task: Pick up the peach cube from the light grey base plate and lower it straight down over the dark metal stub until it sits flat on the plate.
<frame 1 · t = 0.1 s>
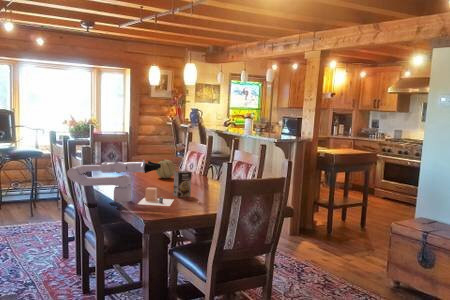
hand: (159, 166, 240), 22 cm above the table, tool horizontal, fingers open, 7 cm apart
coffee box: (181, 197, 264), on the table
metal stub: (161, 202, 241), resting on base plate
base plate: (156, 203, 243), on the table
cantaloupe: (165, 178, 329), on the table
peach cube: (151, 199, 248), point 1 cm above the table, touching base plate
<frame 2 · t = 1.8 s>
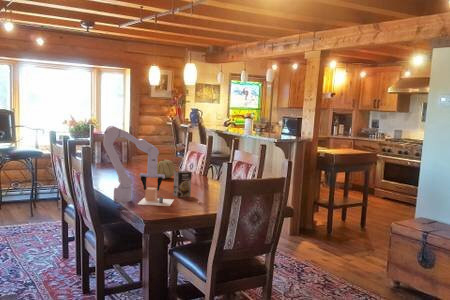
hand: (151, 190, 248), 7 cm above the table, tool pointing down, fingers open, 7 cm apart
nothing on the table moved.
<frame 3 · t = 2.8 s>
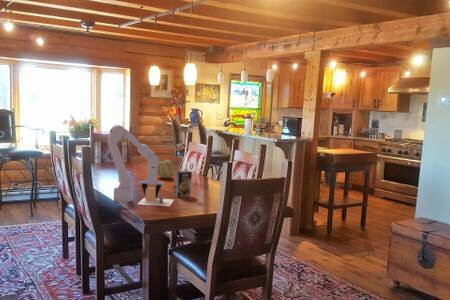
hand: (151, 197, 248), 2 cm above the table, tool pointing down, fingers closed on peach cube, 6 cm apart
peach cube: (151, 199, 248), point 1 cm above the table, touching base plate, gripper
everything else where it was.
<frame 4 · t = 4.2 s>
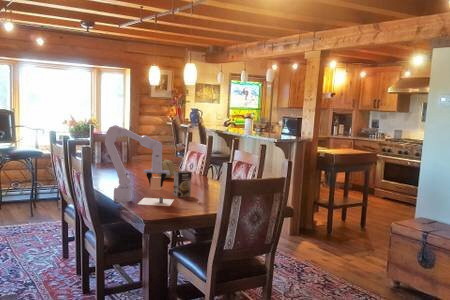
hand: (156, 186, 245), 10 cm above the table, tool pointing down, fingers closed on peach cube, 6 cm apart
peach cube: (156, 188, 245), point 8 cm above the table, touching gripper
everything else where it was.
when the fingers open (4 cm above the table, at t = 6.0 s): peach cube stays where it is, resting on base plate.
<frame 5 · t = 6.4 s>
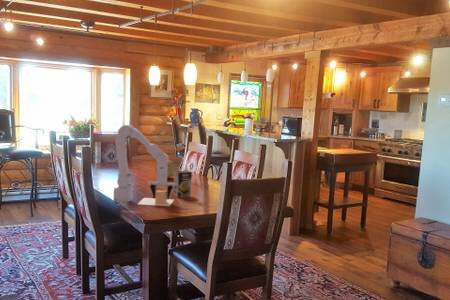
hand: (161, 198, 241), 4 cm above the table, tool pointing down, fingers open, 7 cm apart
peach cube: (161, 202, 241), point 1 cm above the table, touching base plate
everything else where it was.
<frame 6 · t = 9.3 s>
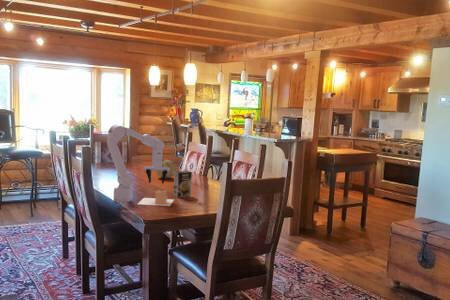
hand: (156, 182, 251), 10 cm above the table, tool pointing down, fingers open, 7 cm apart
nothing on the table moved.
at the end: peach cube 0.1 cm from the metal stub (horizontally); peach cube point 1.2 cm above the table; peach cube tilted 0° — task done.
